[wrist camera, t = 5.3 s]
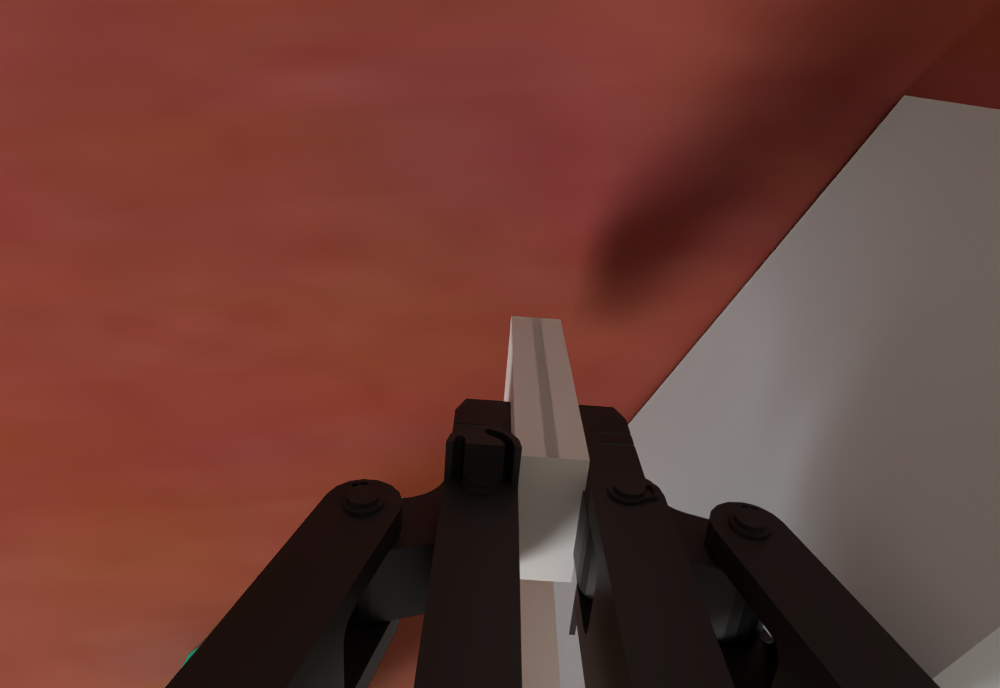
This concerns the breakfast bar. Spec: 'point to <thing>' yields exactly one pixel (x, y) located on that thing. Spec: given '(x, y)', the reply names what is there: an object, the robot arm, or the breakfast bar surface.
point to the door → (863, 393)
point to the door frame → (538, 635)
